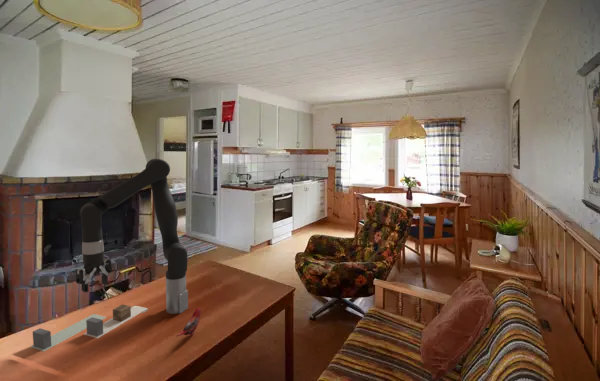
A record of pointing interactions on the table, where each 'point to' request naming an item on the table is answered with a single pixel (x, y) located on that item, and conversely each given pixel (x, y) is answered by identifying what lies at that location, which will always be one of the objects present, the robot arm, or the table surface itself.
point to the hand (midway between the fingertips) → (95, 287)
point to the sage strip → (58, 334)
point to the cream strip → (108, 323)
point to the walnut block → (121, 313)
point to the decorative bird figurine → (191, 324)
